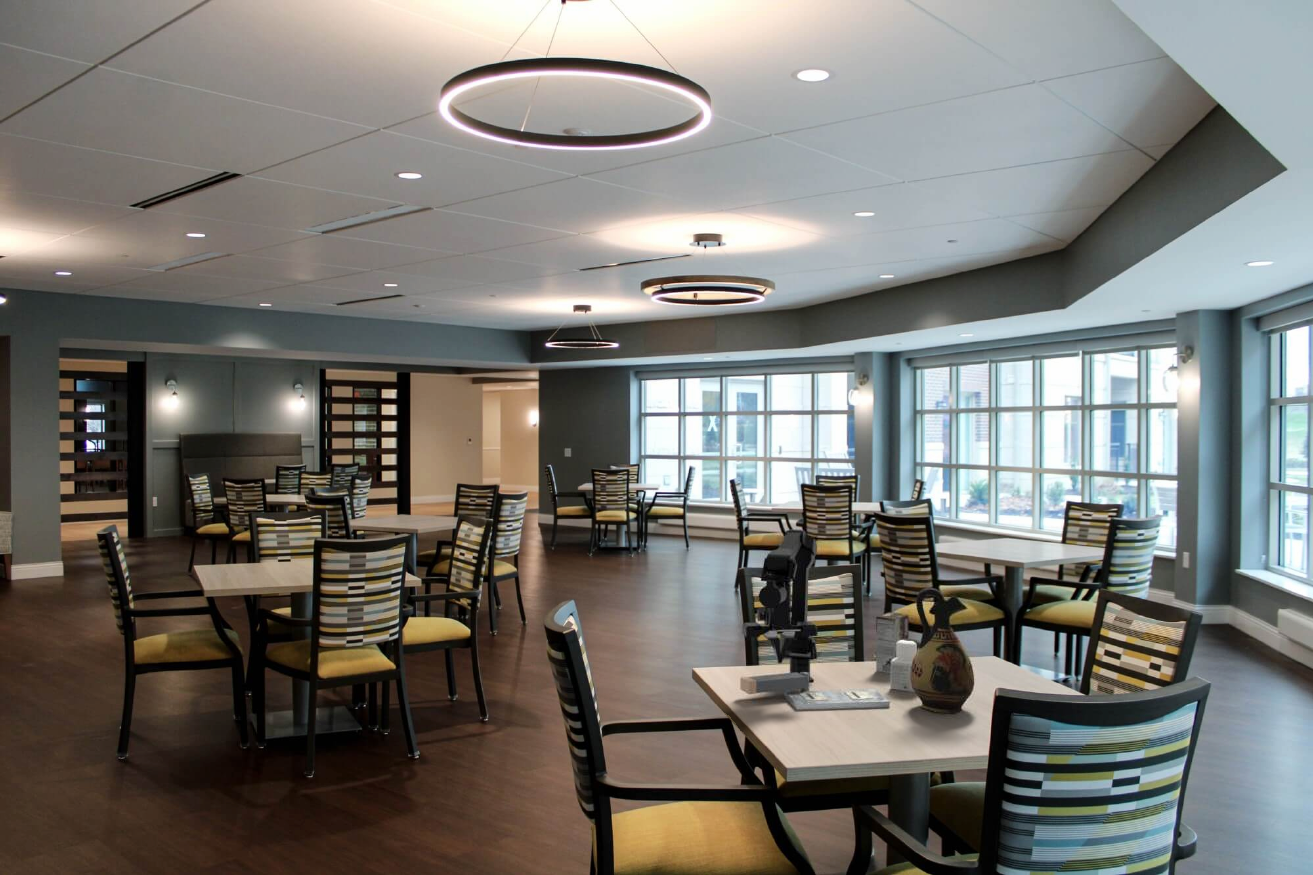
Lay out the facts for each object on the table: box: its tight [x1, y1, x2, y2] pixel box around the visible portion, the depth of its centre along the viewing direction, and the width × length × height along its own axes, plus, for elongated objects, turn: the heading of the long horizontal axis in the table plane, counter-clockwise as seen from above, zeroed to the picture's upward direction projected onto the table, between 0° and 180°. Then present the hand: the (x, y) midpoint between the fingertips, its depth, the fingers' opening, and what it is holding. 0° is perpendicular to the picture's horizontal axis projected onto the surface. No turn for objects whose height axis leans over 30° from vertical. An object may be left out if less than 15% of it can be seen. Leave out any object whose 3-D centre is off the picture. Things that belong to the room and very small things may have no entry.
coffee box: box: [875, 611, 909, 675], centre depth 281 cm, size 9×6×16 cm
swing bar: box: [739, 672, 810, 695], centre depth 251 cm, size 19×5×5 cm, turn 111°
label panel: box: [784, 688, 891, 711], centre depth 246 cm, size 12×24×2 cm, turn 97°
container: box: [890, 638, 921, 693], centre depth 261 cm, size 8×8×13 cm
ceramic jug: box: [910, 587, 975, 715], centre depth 241 cm, size 17×15×30 cm
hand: (779, 662), depth 247 cm, fingers closed
